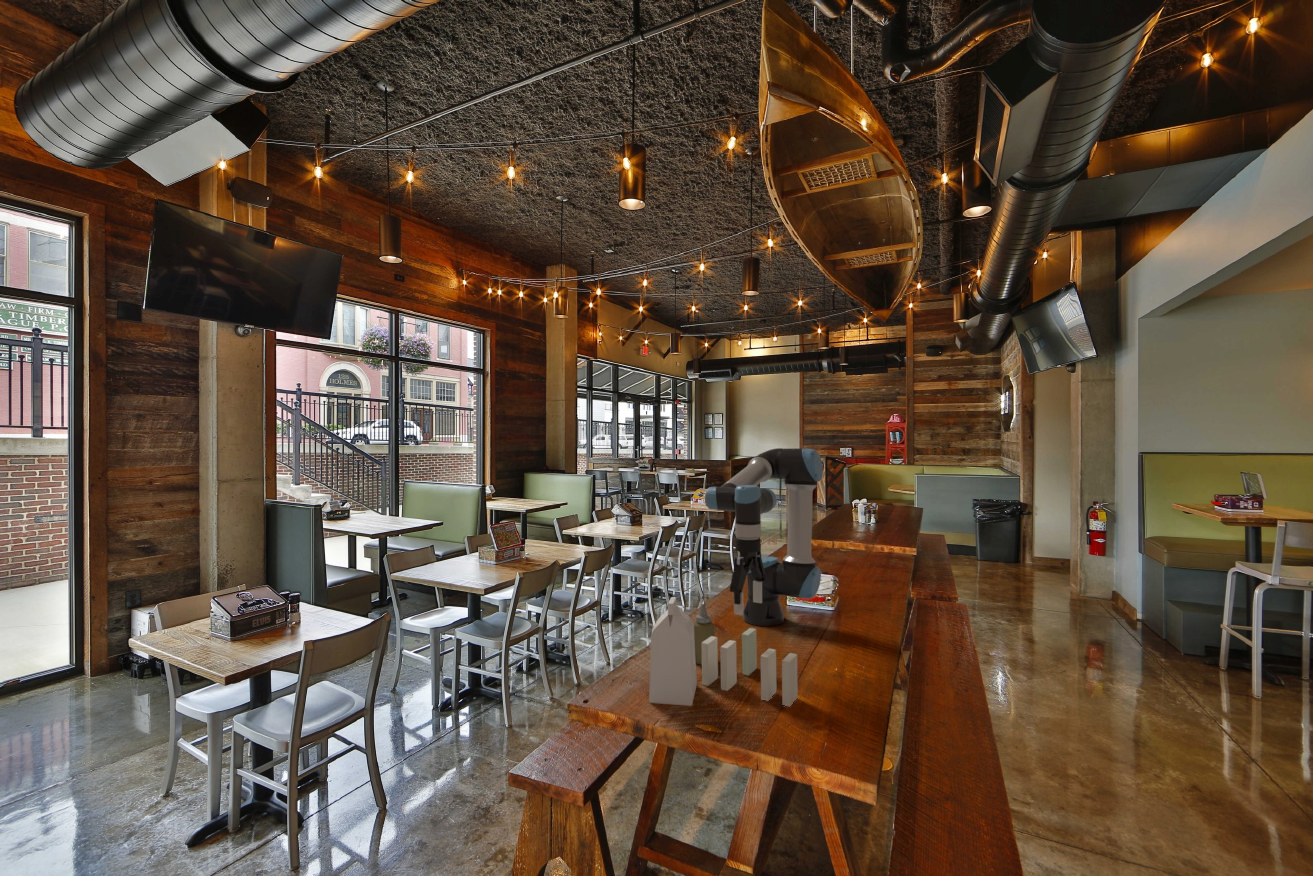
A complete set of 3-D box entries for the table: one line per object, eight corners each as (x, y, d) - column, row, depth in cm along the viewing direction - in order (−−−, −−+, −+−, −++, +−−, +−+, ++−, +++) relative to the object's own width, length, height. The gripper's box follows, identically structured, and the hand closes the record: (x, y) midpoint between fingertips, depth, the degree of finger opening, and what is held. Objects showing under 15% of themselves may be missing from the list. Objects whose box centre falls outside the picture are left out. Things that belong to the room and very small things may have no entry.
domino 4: (761, 700, 154) (760, 656, 153) (769, 691, 159) (769, 648, 158) (768, 702, 152) (767, 657, 152) (776, 693, 157) (776, 649, 157)
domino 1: (702, 684, 163) (701, 642, 163) (711, 676, 168) (711, 636, 168) (708, 686, 162) (707, 644, 162) (717, 678, 167) (717, 637, 167)
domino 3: (742, 674, 170) (741, 634, 169) (750, 666, 175) (750, 627, 174) (748, 675, 168) (748, 635, 168) (756, 668, 174) (756, 629, 173)
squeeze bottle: (696, 668, 174) (695, 609, 174) (687, 658, 182) (686, 601, 181) (720, 665, 176) (720, 607, 176) (711, 655, 184) (710, 599, 183)
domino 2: (720, 689, 160) (720, 647, 160) (730, 681, 165) (729, 640, 165) (727, 691, 159) (726, 648, 159) (736, 682, 164) (736, 641, 164)
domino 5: (782, 706, 150) (781, 660, 150) (790, 696, 155) (790, 652, 155) (789, 708, 149) (789, 662, 149) (797, 698, 154) (797, 654, 154)
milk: (656, 682, 165) (655, 593, 164) (696, 685, 163) (695, 594, 162) (649, 702, 153) (647, 606, 152) (691, 705, 151) (690, 608, 151)
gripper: (753, 529, 183) (753, 596, 183) (717, 543, 162) (718, 618, 162) (775, 532, 179) (776, 599, 179) (741, 546, 158) (742, 622, 158)
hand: (748, 608), depth 171 cm, fingers open, 13 cm apart
